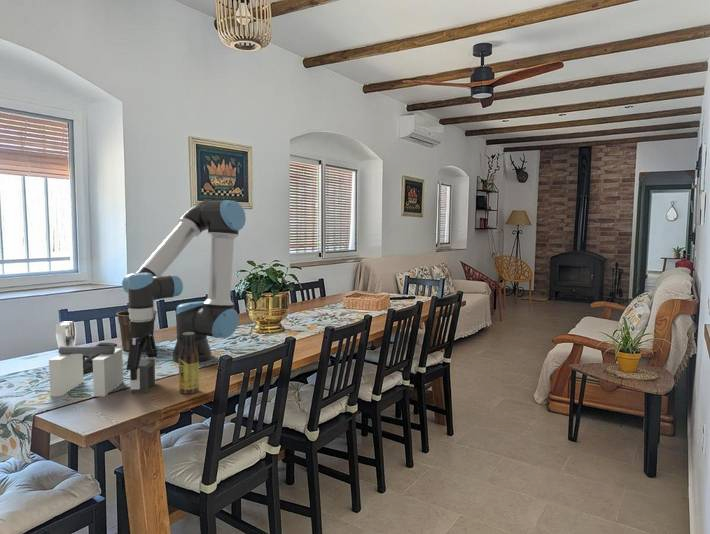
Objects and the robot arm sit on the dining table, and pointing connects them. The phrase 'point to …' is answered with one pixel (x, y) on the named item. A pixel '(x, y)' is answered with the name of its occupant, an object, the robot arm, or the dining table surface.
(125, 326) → the plant pot
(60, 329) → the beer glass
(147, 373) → the grey block
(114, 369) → the shelf stand
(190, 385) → the sauce bottle
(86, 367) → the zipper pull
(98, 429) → the dining table surface
